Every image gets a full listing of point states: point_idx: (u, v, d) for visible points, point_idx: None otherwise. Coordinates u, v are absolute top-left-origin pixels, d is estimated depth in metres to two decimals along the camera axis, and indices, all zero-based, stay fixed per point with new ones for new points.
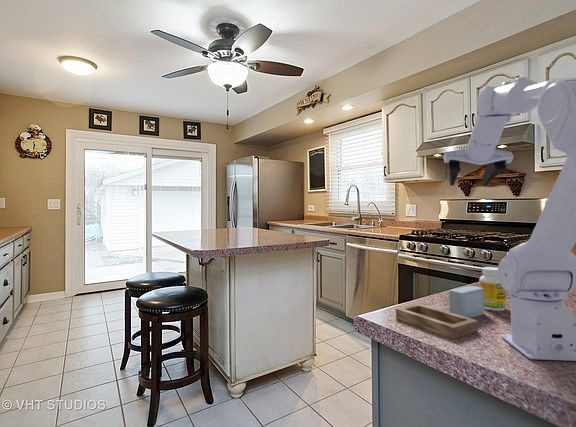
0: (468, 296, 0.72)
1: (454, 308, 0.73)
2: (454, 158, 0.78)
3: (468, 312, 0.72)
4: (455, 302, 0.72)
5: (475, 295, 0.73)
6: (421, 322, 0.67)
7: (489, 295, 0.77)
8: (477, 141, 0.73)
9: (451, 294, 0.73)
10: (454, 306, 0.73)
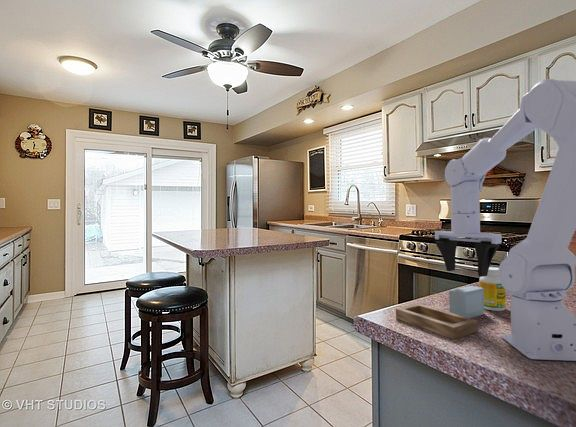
0: (468, 296, 0.72)
1: (454, 308, 0.73)
2: (440, 233, 0.78)
3: (468, 312, 0.72)
4: (455, 302, 0.72)
5: (475, 295, 0.73)
6: (421, 322, 0.67)
7: (489, 295, 0.77)
8: (461, 211, 0.72)
9: (451, 294, 0.73)
10: (454, 306, 0.73)
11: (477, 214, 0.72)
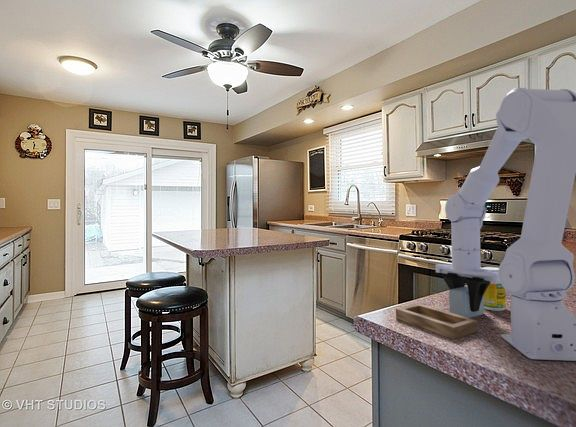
0: (468, 295, 0.72)
1: (454, 308, 0.73)
2: (441, 267, 0.78)
3: (468, 311, 0.72)
4: (455, 301, 0.72)
5: None
6: (421, 322, 0.67)
7: (489, 295, 0.77)
8: (462, 248, 0.72)
9: (451, 294, 0.73)
10: (454, 306, 0.73)
11: (478, 251, 0.72)
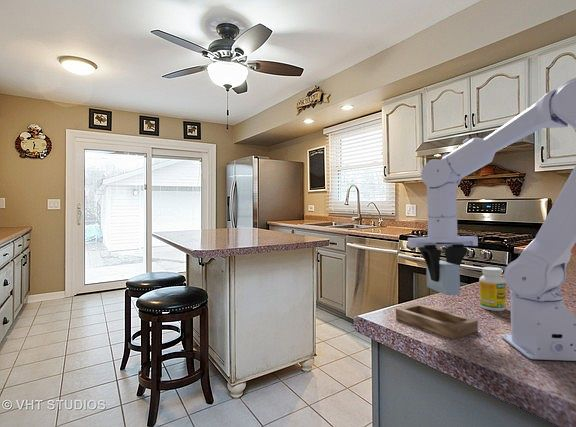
0: None
1: (451, 284, 0.67)
2: (420, 240, 0.68)
3: None
4: (452, 277, 0.67)
5: None
6: (421, 322, 0.67)
7: (489, 295, 0.77)
8: (444, 214, 0.67)
9: (447, 269, 0.67)
10: (451, 282, 0.67)
11: None
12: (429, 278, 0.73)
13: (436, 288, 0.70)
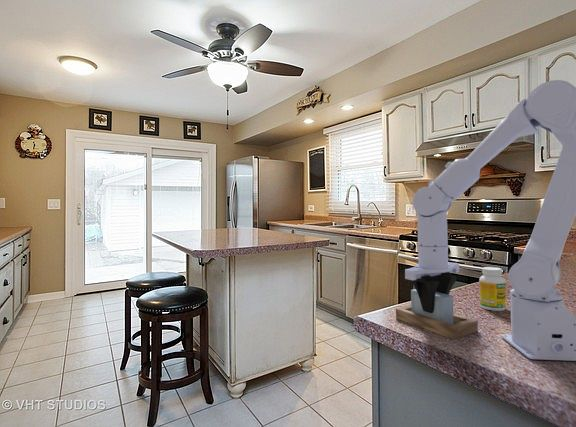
0: None
1: (447, 316, 0.65)
2: (420, 271, 0.65)
3: None
4: (448, 308, 0.66)
5: None
6: (421, 322, 0.67)
7: (489, 295, 0.77)
8: (437, 244, 0.66)
9: (445, 301, 0.65)
10: (447, 313, 0.65)
11: None
12: (416, 309, 0.71)
13: None
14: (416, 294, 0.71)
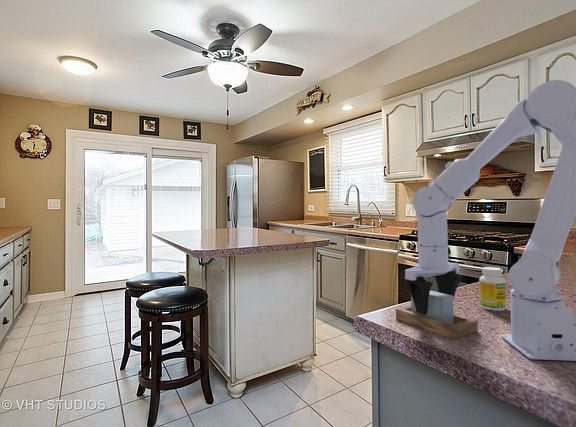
0: None
1: (447, 316, 0.65)
2: (420, 271, 0.65)
3: None
4: (448, 308, 0.66)
5: None
6: (421, 322, 0.67)
7: (489, 295, 0.77)
8: (437, 244, 0.66)
9: (445, 301, 0.65)
10: (447, 313, 0.65)
11: None
12: None
13: None
14: None
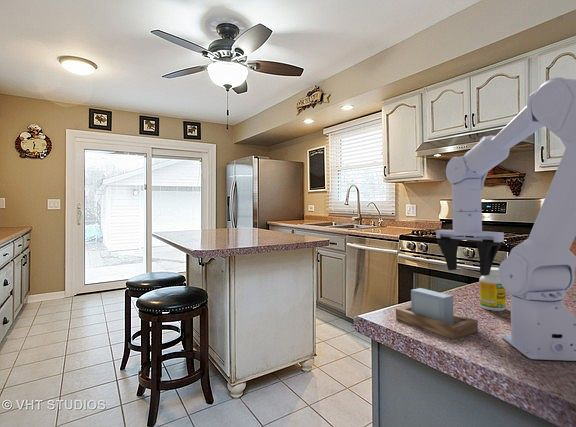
0: None
1: (447, 316, 0.65)
2: (441, 231, 0.77)
3: None
4: (448, 308, 0.66)
5: None
6: (421, 322, 0.67)
7: (489, 295, 0.77)
8: (463, 209, 0.71)
9: (445, 301, 0.65)
10: (447, 313, 0.65)
11: (479, 212, 0.70)
12: (416, 309, 0.71)
13: None
14: (416, 294, 0.71)
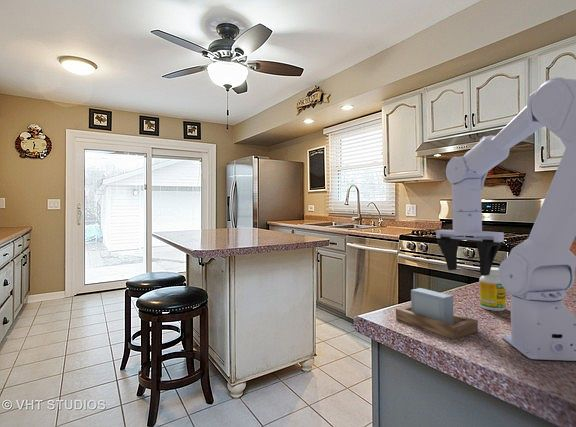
0: None
1: (447, 316, 0.65)
2: (441, 231, 0.77)
3: None
4: (448, 308, 0.66)
5: None
6: (421, 322, 0.67)
7: (489, 295, 0.77)
8: (463, 209, 0.71)
9: (445, 301, 0.65)
10: (447, 313, 0.65)
11: (479, 212, 0.70)
12: (416, 309, 0.71)
13: None
14: (416, 294, 0.71)
